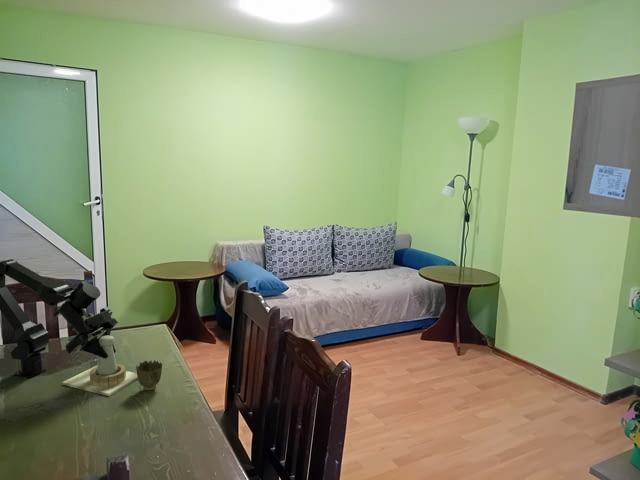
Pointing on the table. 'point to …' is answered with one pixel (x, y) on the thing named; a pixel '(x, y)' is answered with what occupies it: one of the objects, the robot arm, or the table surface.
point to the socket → (102, 381)
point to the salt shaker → (108, 364)
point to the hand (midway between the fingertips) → (110, 355)
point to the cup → (149, 374)
